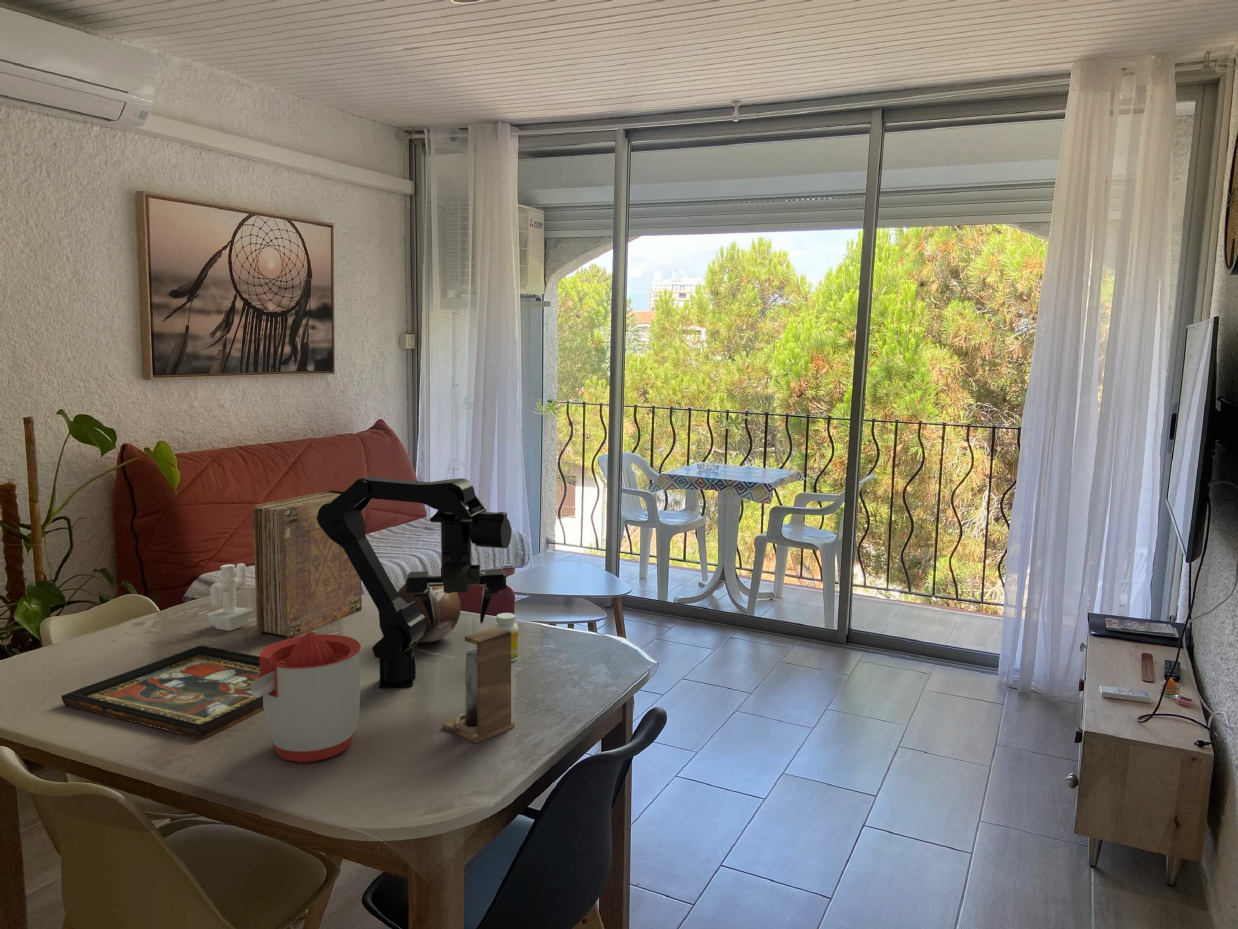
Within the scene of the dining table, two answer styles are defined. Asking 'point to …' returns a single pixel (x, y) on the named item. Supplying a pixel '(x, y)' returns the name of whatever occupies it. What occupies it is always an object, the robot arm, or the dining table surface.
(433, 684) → the dining table surface
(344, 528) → the robot arm
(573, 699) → the dining table surface
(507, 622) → the supplement bottle
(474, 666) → the metal tin
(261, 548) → the book
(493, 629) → the ledge stand
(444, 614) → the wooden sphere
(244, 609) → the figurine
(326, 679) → the citrus juicer
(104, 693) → the framed icon painting
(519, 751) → the dining table surface
